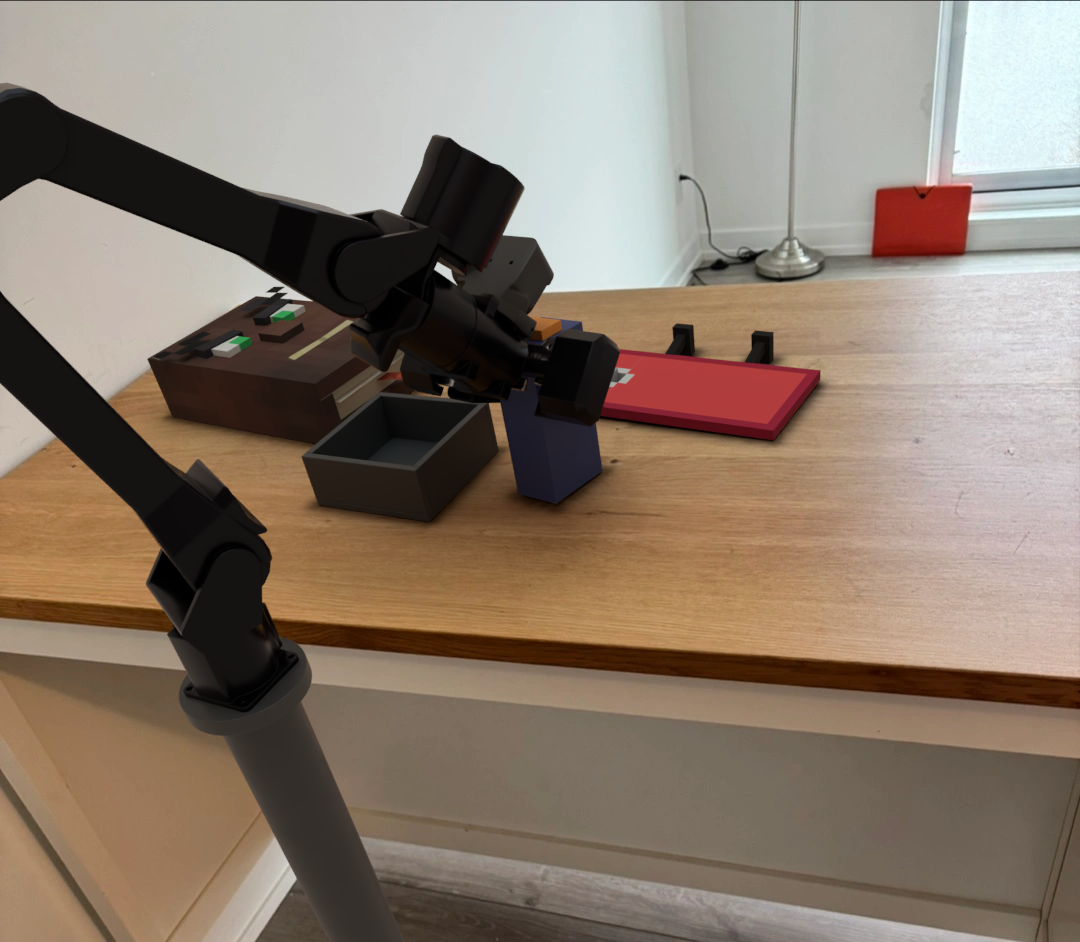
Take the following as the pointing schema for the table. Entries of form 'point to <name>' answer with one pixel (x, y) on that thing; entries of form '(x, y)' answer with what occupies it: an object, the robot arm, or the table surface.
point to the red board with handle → (708, 388)
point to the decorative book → (272, 370)
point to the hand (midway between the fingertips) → (561, 400)
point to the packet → (548, 436)
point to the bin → (402, 455)
